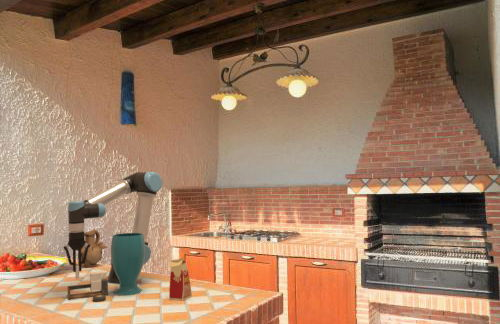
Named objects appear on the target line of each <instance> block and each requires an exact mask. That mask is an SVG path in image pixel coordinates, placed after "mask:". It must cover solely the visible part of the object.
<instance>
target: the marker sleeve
mask: <svg viewBox="0 0 500 324" xmlns="http://www.w3.org/2000/svg"><path fill="white" fill-rule="evenodd" d="M89 275H90V277H89V284H91V288H89V290H90V292H95V291H100V290H101V280H102V272H101V271H97V272H90V273H89Z"/></svg>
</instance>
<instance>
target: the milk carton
mask: <svg viewBox="0 0 500 324" xmlns="http://www.w3.org/2000/svg"><path fill="white" fill-rule="evenodd" d="M170 262H171V265H170V274H169V275H170V276H169V287H168V289H169V292H168V293H169V294H168V295H169V297H168V300H170V301H171V300H174V301H185V300H188V299H189V298H190V297H192V296H193V294H192V293H193V292H192V286H191V285H192V284H191V279H190V274H189V269H188V264H187V261H185V257H181V258H179V259H171V260H170Z"/></svg>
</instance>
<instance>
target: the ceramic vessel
mask: <svg viewBox="0 0 500 324" xmlns="http://www.w3.org/2000/svg"><path fill="white" fill-rule="evenodd" d="M84 234H85V241H86V243H87V244H90V247H89V248H88V252H87V256H86V260H85V263H84V264H82V267H83V268H96V267H97V266H98V265H97V264H98V263H99V262H101V260H102V257H103V250H104V249H106V248H108V246H107V245H105V244H104V243H103V241H100V237H101V234H100V232H99V231H98V230H97V229H94V228H93V229H90V230H89V231H86V232H84ZM84 251H85V245H84V246H83V248H82V249H81V261H82V260H83V255H84ZM76 252H78V250H76Z"/></svg>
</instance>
